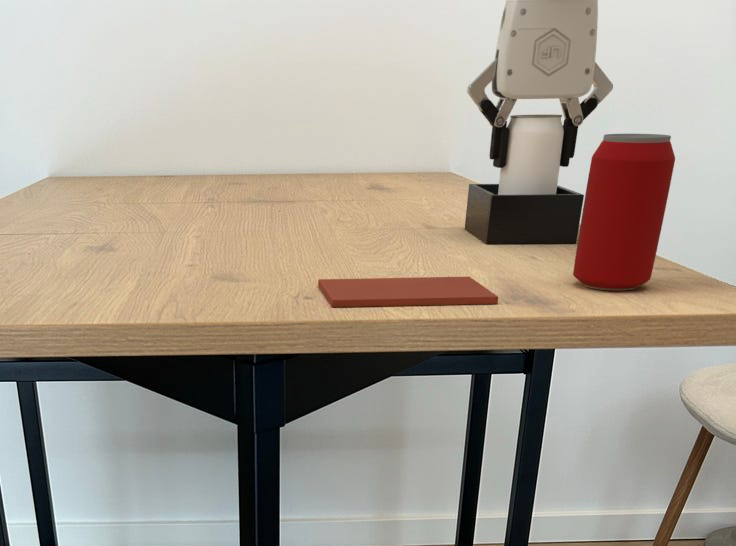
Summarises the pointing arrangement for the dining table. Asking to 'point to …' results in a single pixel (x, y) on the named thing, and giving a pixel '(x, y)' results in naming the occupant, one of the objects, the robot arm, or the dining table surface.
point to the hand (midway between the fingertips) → (530, 164)
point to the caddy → (523, 216)
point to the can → (532, 155)
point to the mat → (405, 291)
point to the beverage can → (623, 211)
